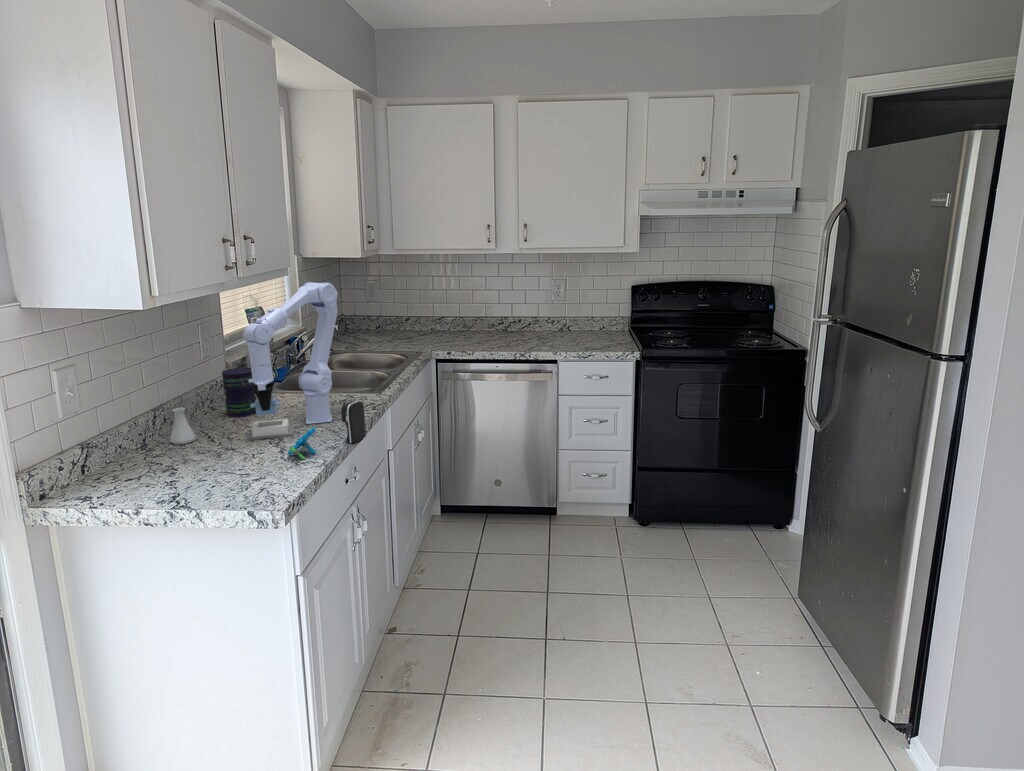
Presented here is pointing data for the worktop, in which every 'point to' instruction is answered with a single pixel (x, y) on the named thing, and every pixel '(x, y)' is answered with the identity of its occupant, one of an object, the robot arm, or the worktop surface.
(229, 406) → the storage jar
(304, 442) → the gear
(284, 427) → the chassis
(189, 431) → the flask
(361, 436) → the battery charger
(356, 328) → the worktop surface
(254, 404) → the block
